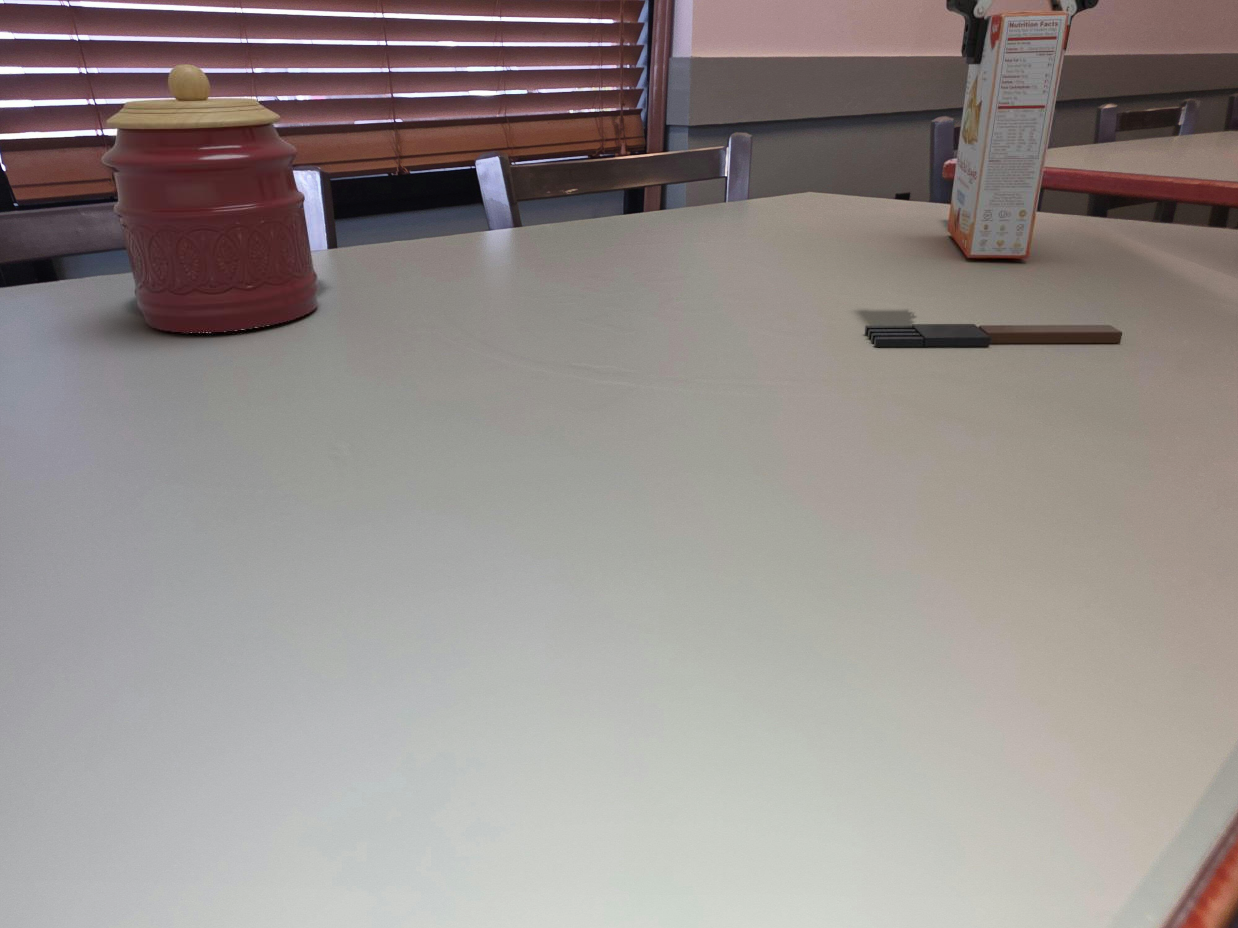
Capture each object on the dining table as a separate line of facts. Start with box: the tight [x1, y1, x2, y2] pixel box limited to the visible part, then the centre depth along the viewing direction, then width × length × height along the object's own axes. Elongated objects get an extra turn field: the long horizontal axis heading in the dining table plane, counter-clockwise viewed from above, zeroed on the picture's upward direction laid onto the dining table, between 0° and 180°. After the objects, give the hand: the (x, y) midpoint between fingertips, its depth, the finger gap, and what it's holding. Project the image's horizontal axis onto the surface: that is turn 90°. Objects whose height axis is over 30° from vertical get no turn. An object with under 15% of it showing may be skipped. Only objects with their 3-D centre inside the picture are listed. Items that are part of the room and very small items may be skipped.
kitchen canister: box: [101, 63, 320, 334], centre depth 64 cm, size 13×13×18 cm
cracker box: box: [947, 10, 1071, 259], centre depth 83 cm, size 14×6×21 cm, turn 168°
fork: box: [864, 323, 1123, 348], centre depth 59 cm, size 17×3×1 cm, turn 89°
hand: (1011, 63), depth 81 cm, fingers closed on cracker box, 6 cm apart
